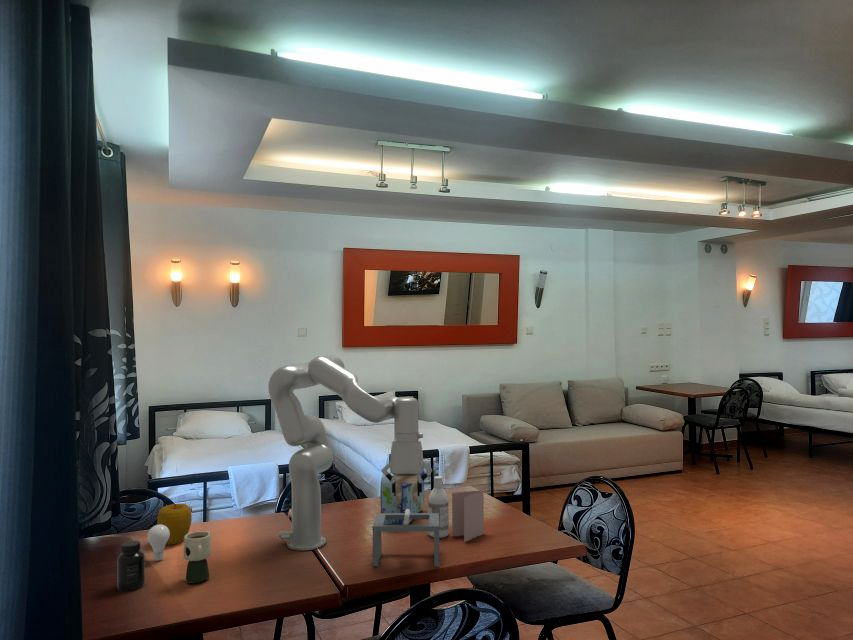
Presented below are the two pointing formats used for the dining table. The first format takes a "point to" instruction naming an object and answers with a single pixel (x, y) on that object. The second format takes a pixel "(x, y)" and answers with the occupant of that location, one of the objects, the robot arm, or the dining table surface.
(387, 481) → the lunch box
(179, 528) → the apple
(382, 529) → the shelf stand
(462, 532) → the greeting card
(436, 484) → the bath foam
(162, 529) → the lightbulb
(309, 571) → the dining table surface
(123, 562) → the supplement bottle
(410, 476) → the birch clip
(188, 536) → the character mug
